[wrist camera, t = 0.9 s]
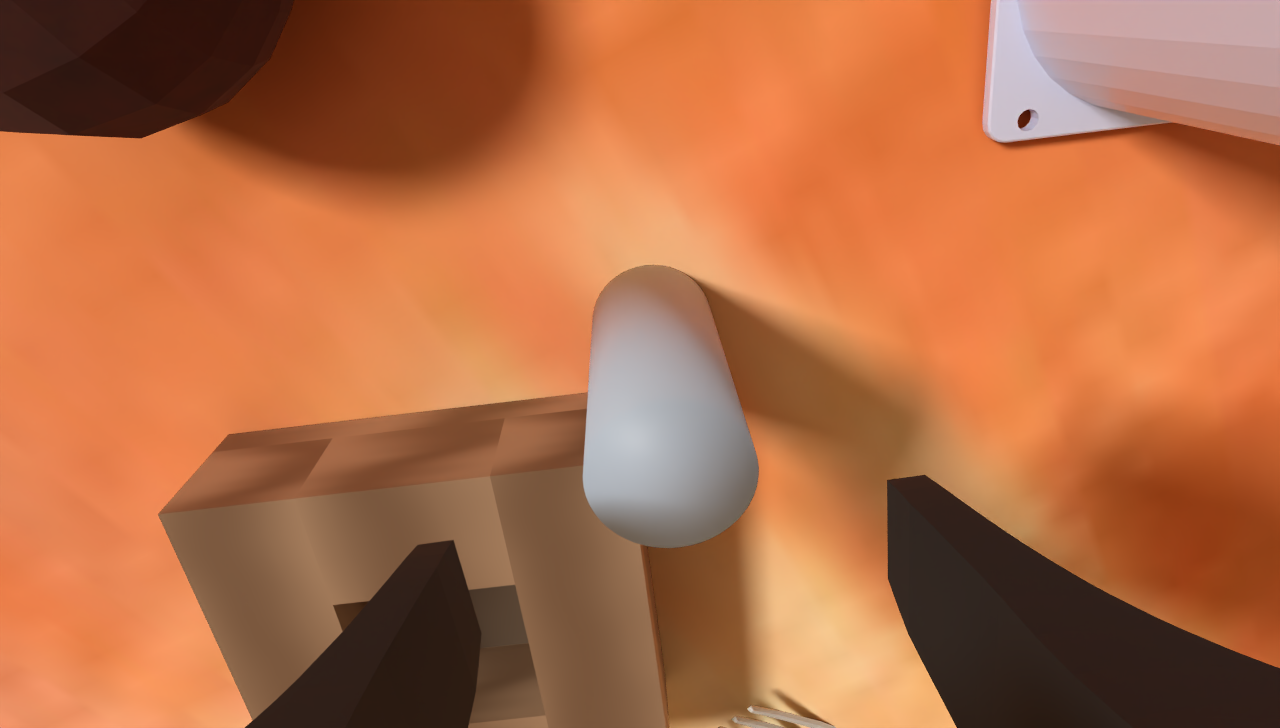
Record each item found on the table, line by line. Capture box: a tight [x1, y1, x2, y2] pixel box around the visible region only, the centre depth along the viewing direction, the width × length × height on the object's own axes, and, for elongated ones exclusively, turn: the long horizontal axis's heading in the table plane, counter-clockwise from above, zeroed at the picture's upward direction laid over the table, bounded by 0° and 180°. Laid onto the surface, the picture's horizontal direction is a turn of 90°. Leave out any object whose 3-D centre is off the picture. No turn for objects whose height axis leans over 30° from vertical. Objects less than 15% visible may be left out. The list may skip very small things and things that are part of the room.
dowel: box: [583, 265, 759, 548], centre depth 19 cm, size 3×3×8 cm
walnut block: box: [158, 393, 669, 728], centre depth 24 cm, size 12×12×4 cm
